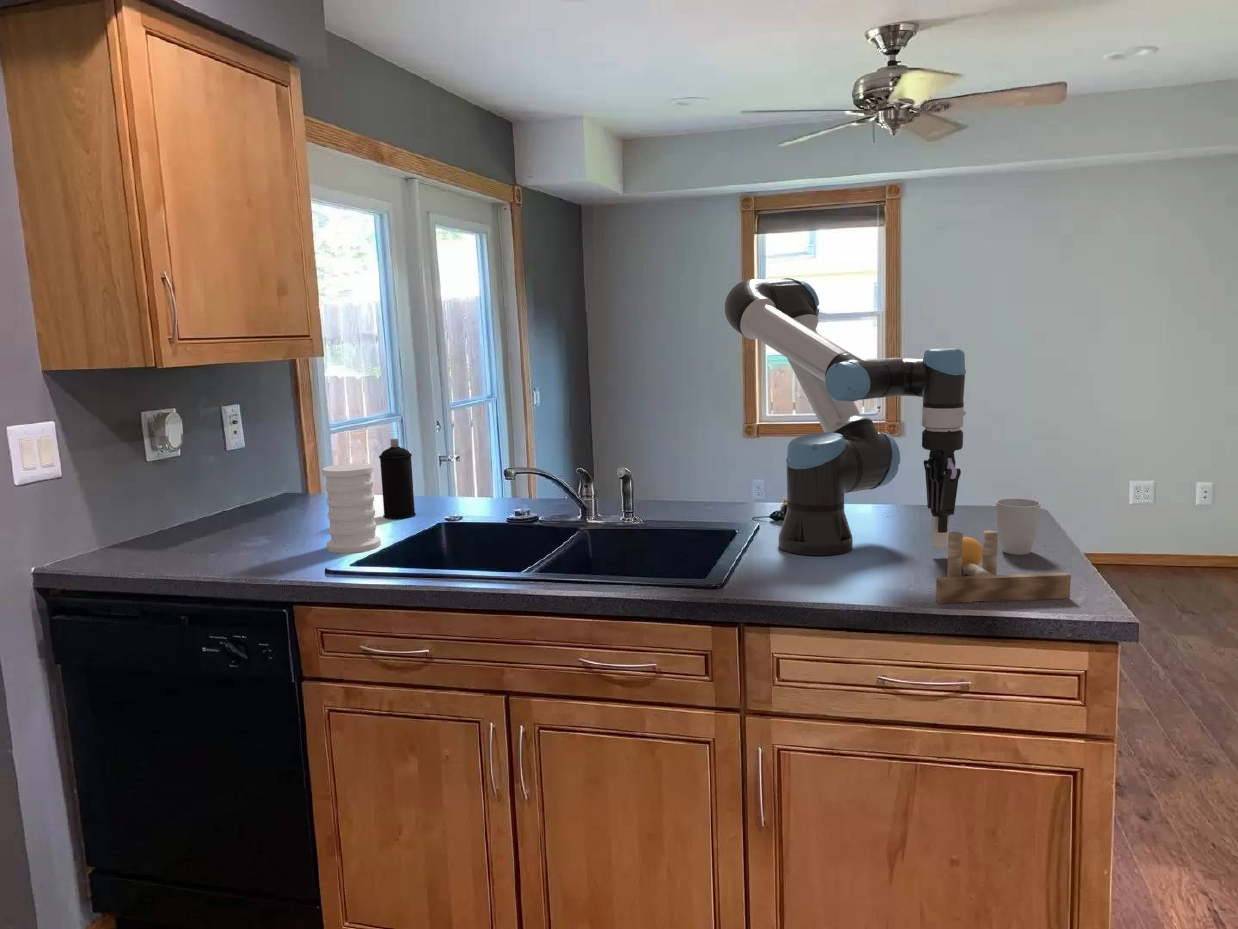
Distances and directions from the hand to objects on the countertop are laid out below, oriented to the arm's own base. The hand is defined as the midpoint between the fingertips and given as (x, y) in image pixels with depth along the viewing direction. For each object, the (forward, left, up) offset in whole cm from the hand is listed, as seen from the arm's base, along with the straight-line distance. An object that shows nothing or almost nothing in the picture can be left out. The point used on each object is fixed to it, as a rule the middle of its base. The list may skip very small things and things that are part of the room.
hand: (939, 547), depth 180 cm
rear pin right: (-3, -16, -2) cm, 16 cm away
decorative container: (-122, +26, -2) cm, 125 cm away
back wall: (0, -28, -2) cm, 28 cm away
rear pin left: (+3, -16, -2) cm, 16 cm away
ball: (+2, -9, +1) cm, 9 cm away
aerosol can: (-118, +58, -2) cm, 132 cm away
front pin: (+1, -13, -1) cm, 13 cm away
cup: (+16, +2, -2) cm, 17 cm away
